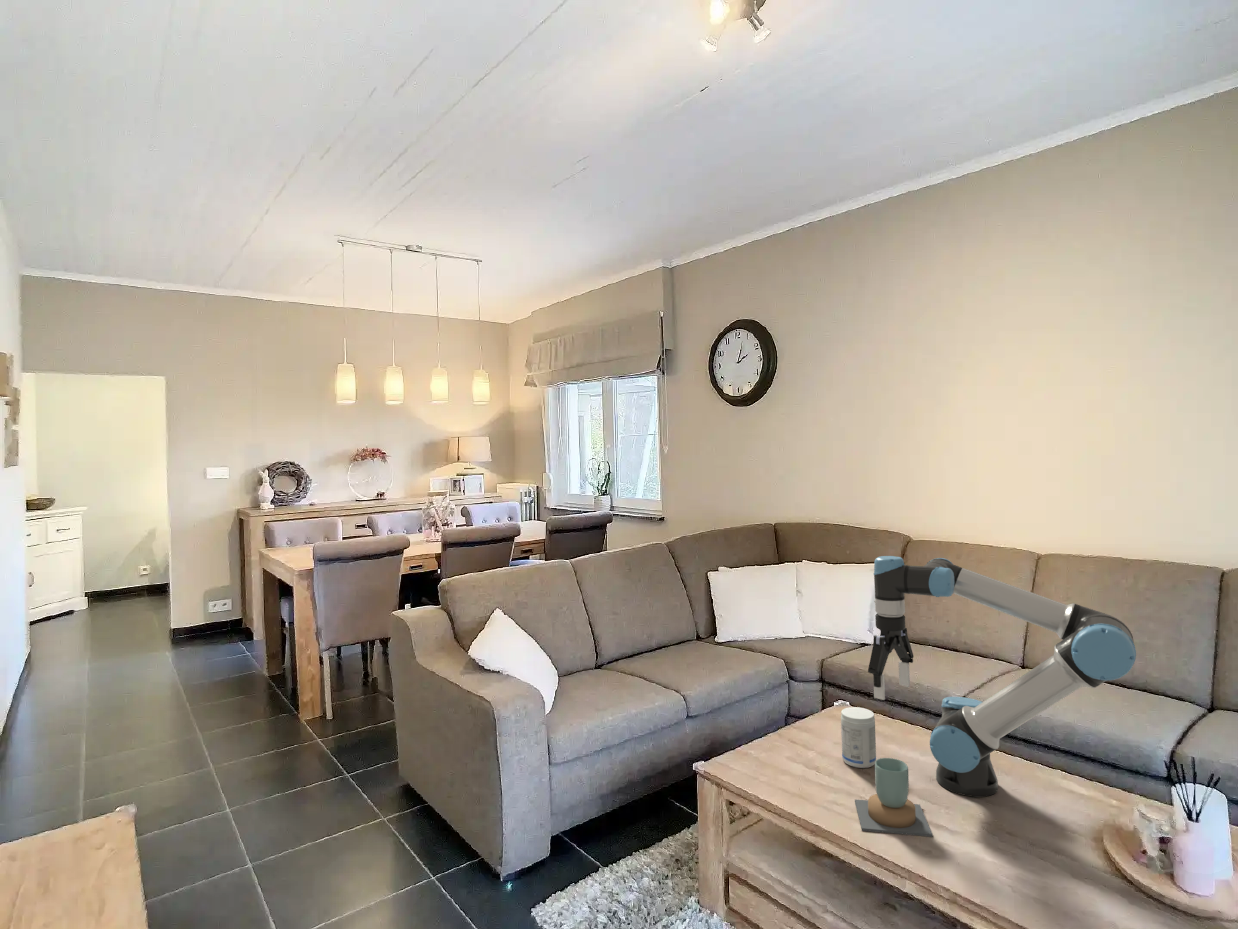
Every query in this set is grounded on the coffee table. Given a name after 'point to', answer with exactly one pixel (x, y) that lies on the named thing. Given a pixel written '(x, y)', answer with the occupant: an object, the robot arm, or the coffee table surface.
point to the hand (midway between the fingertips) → (892, 692)
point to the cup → (891, 782)
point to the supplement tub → (858, 737)
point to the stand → (892, 818)
